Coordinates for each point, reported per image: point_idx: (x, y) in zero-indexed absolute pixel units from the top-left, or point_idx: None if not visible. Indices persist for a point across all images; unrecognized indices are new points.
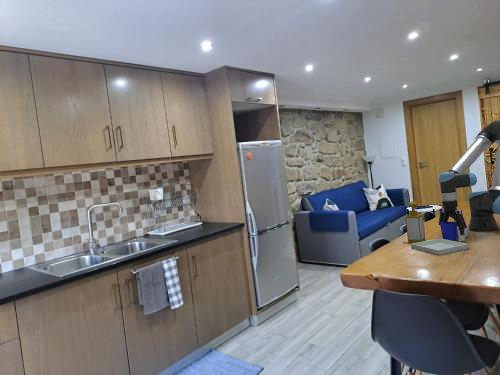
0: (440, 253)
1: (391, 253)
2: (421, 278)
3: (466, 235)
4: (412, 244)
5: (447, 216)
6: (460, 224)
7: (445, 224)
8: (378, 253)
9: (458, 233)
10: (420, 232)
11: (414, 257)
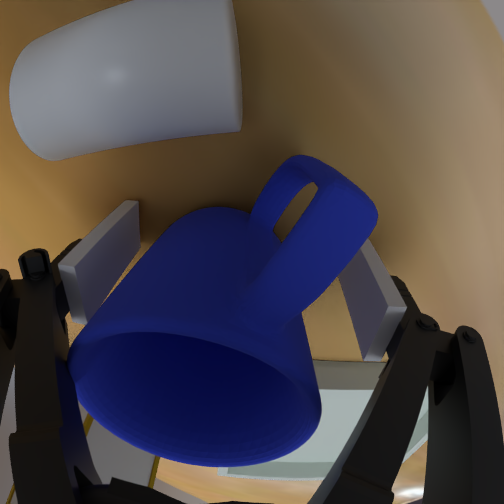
0: None
1: (228, 488)
2: None
3: (237, 38)
4: (230, 475)
5: (91, 480)
6: (431, 415)
7: (243, 465)
8: (198, 492)
9: (356, 323)
10: (148, 462)
11: None
